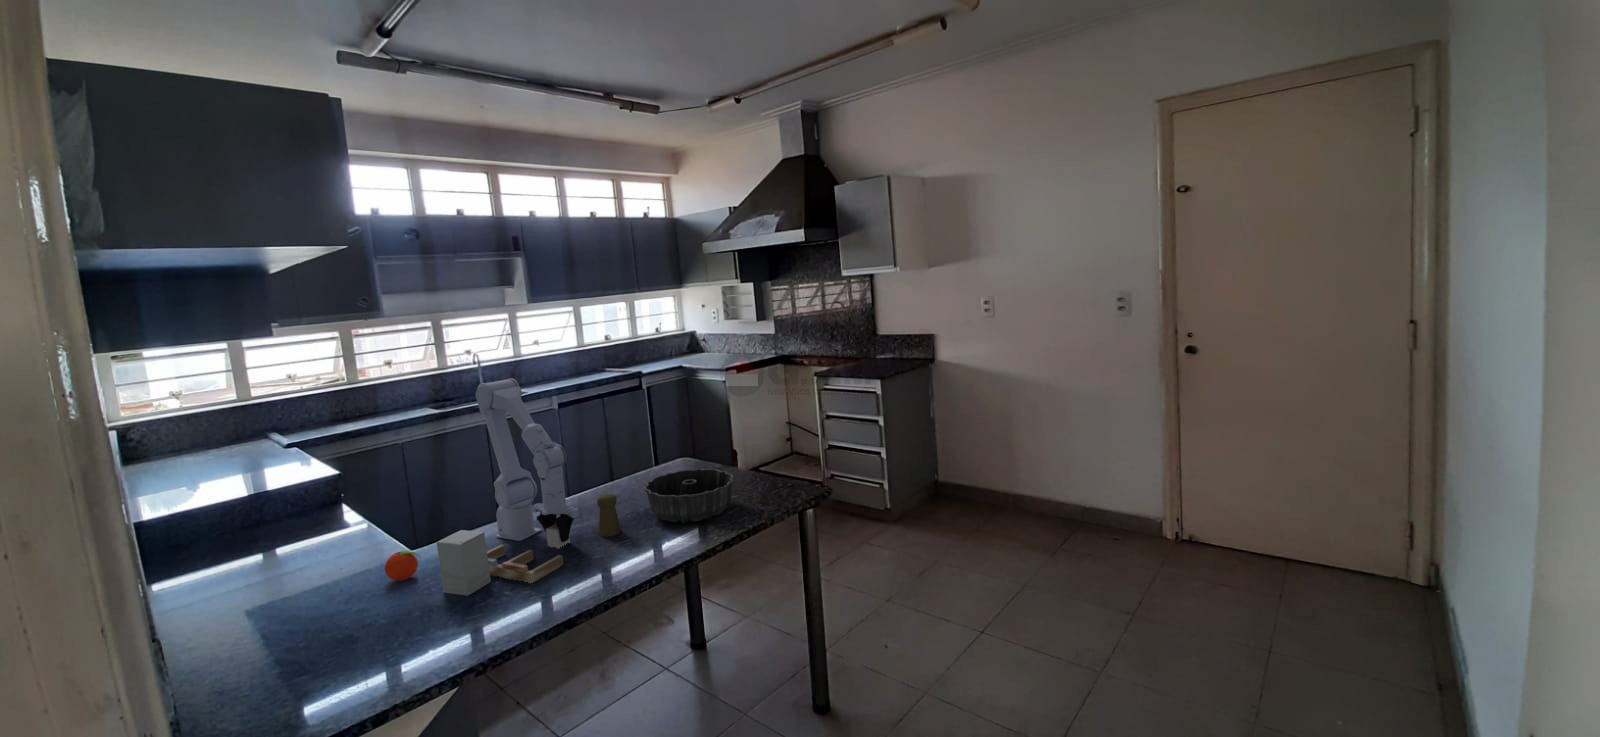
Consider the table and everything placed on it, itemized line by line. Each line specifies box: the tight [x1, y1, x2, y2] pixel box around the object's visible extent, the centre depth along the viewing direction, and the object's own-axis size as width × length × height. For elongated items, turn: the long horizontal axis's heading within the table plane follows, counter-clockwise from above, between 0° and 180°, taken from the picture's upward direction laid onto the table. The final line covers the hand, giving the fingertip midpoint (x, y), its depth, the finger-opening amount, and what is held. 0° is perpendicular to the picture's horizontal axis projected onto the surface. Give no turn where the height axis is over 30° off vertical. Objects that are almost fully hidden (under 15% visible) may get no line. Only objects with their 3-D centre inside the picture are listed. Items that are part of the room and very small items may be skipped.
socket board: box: [487, 544, 564, 584], centre depth 160 cm, size 21×10×4 cm, turn 66°
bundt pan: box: [643, 468, 734, 524], centre depth 192 cm, size 26×26×10 cm
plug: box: [545, 524, 571, 549], centre depth 173 cm, size 4×4×6 cm
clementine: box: [384, 550, 422, 582], centre depth 157 cm, size 8×7×7 cm
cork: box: [596, 493, 622, 538], centre depth 180 cm, size 6×6×11 cm
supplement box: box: [436, 529, 491, 597], centre depth 151 cm, size 7×7×13 cm
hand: (558, 539), depth 174 cm, fingers closed on plug, 4 cm apart
